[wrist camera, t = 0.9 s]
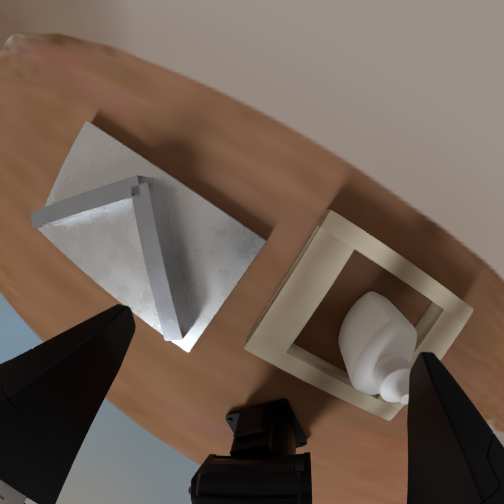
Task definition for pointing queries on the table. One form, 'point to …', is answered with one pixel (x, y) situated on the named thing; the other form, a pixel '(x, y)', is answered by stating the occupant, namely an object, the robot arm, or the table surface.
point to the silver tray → (145, 235)
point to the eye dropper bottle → (378, 347)
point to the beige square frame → (315, 288)
